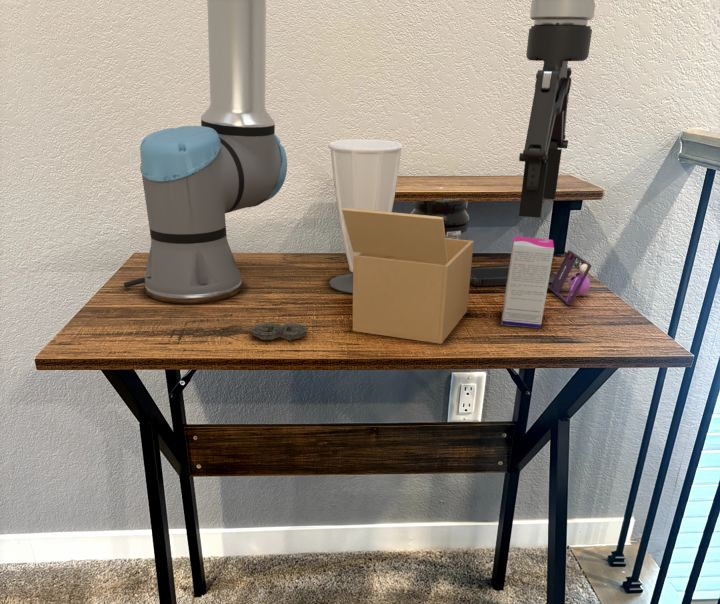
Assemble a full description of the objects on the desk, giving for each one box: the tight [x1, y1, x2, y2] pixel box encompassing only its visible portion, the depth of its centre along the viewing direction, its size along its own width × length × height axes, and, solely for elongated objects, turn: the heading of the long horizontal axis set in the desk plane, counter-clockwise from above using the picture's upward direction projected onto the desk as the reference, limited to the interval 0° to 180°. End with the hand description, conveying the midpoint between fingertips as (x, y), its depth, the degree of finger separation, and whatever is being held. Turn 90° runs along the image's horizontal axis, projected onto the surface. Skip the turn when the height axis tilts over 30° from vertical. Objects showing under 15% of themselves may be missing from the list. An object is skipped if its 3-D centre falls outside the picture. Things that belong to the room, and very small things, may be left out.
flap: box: [342, 208, 448, 262], centre depth 92 cm, size 7×13×1 cm
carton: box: [352, 238, 475, 345], centre depth 104 cm, size 15×13×10 cm
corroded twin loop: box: [249, 322, 309, 341], centre depth 100 cm, size 5×8×1 cm, turn 89°
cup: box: [327, 138, 404, 294], centre depth 117 cm, size 12×12×22 cm
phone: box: [470, 264, 557, 287], centre depth 126 cm, size 8×1×15 cm
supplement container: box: [410, 199, 470, 240], centre depth 131 cm, size 10×10×12 cm
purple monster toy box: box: [549, 249, 592, 307], centre depth 117 cm, size 7×5×9 cm
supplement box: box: [500, 235, 555, 329], centre depth 105 cm, size 6×6×12 cm
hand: (537, 207), depth 100 cm, fingers open, 13 cm apart
